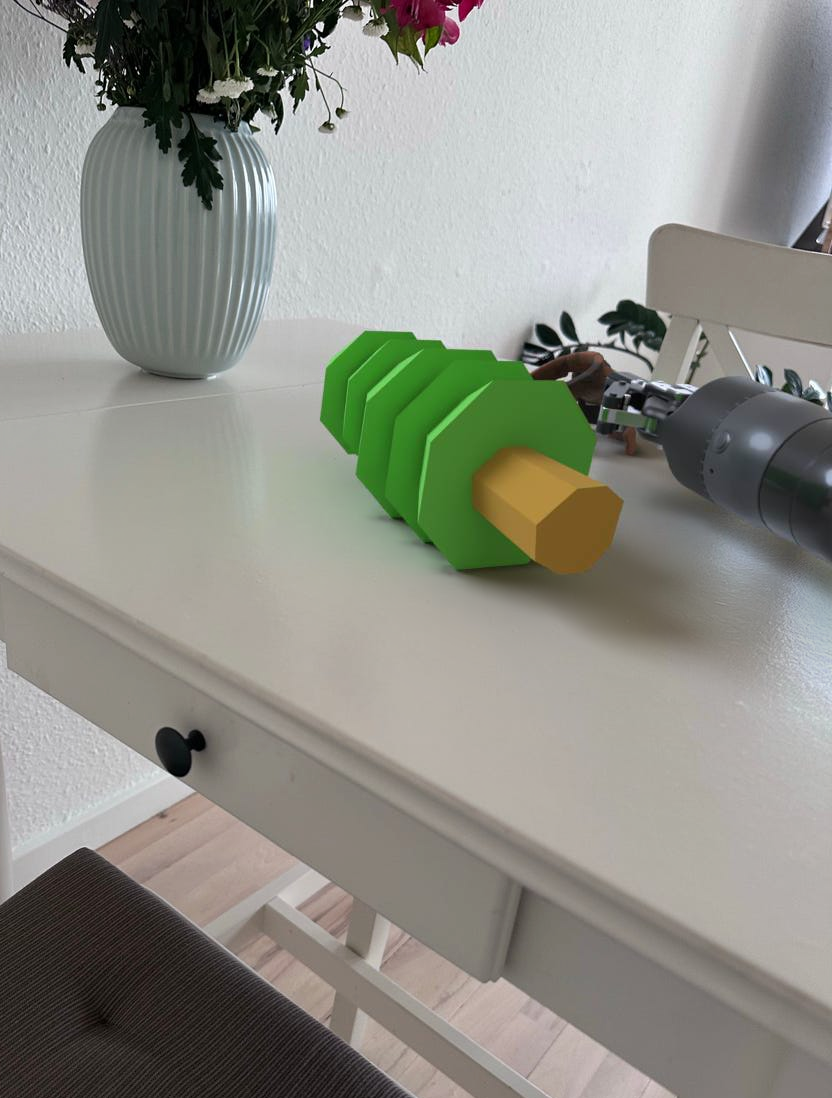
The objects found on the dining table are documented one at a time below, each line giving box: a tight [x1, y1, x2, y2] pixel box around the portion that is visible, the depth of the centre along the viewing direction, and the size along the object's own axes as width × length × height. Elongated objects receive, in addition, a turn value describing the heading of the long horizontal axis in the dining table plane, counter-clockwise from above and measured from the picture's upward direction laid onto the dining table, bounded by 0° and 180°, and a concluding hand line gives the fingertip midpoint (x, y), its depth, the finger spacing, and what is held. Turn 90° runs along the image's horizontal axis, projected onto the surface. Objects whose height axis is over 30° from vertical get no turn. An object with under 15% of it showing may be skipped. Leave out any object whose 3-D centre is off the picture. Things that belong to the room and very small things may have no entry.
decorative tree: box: [319, 330, 625, 575], centre depth 57 cm, size 11×12×30 cm
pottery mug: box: [529, 350, 637, 456], centre depth 80 cm, size 12×10×8 cm
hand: (614, 385), depth 72 cm, fingers closed
